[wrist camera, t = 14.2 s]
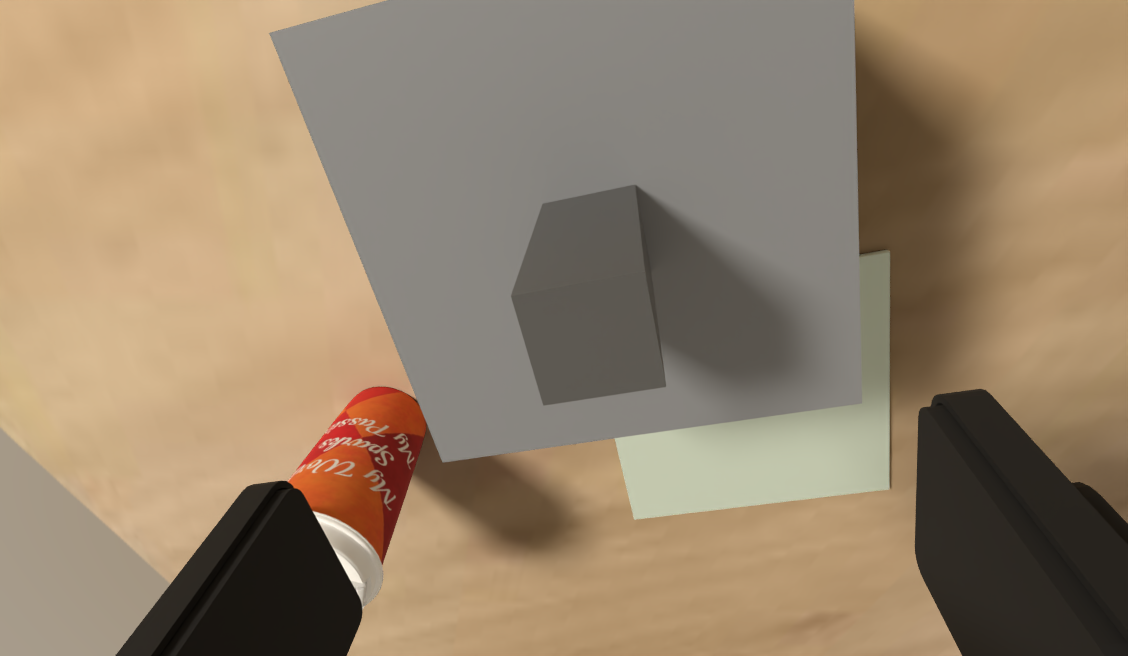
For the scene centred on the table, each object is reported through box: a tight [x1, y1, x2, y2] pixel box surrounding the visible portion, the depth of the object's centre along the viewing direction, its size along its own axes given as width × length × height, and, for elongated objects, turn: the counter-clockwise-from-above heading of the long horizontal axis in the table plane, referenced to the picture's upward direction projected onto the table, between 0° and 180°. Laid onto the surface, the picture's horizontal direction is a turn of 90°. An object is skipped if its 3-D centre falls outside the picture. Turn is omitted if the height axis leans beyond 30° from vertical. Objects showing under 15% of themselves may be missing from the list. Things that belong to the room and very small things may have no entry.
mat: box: [615, 250, 890, 520], centre depth 44 cm, size 19×19×1 cm
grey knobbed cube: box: [269, 0, 862, 462], centre depth 25 cm, size 16×16×25 cm
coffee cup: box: [287, 387, 426, 609], centre depth 40 cm, size 8×8×15 cm
